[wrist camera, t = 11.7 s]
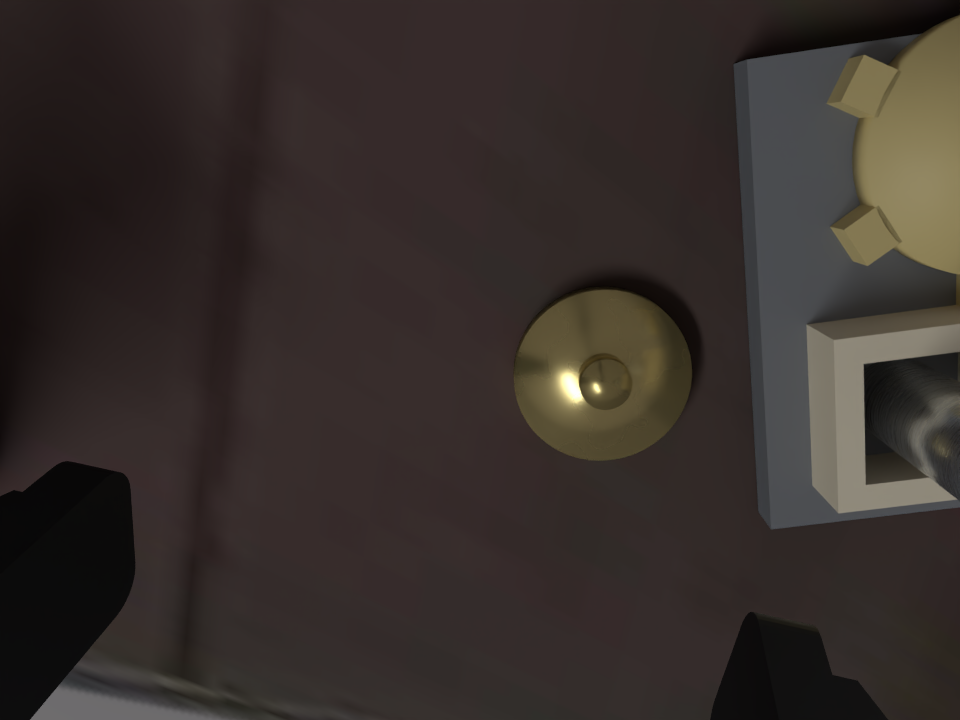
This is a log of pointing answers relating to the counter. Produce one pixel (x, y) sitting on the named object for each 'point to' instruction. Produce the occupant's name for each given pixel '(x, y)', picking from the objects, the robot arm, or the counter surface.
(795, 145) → the gear board
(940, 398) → the grey cylinder peg
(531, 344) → the brass knob disc
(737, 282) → the counter surface
